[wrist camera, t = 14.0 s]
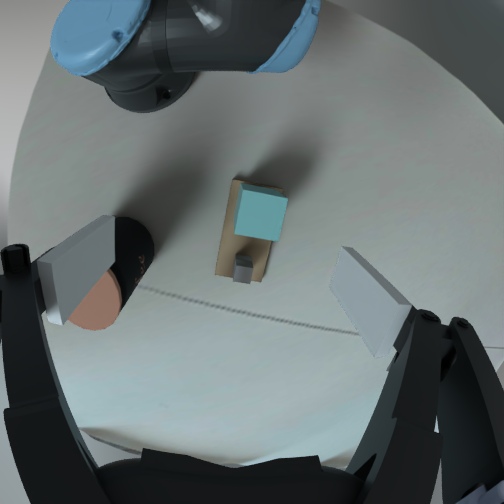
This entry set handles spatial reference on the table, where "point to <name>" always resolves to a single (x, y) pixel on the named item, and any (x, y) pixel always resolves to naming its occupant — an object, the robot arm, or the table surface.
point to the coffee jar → (117, 277)
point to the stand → (241, 246)
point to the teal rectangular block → (259, 212)
